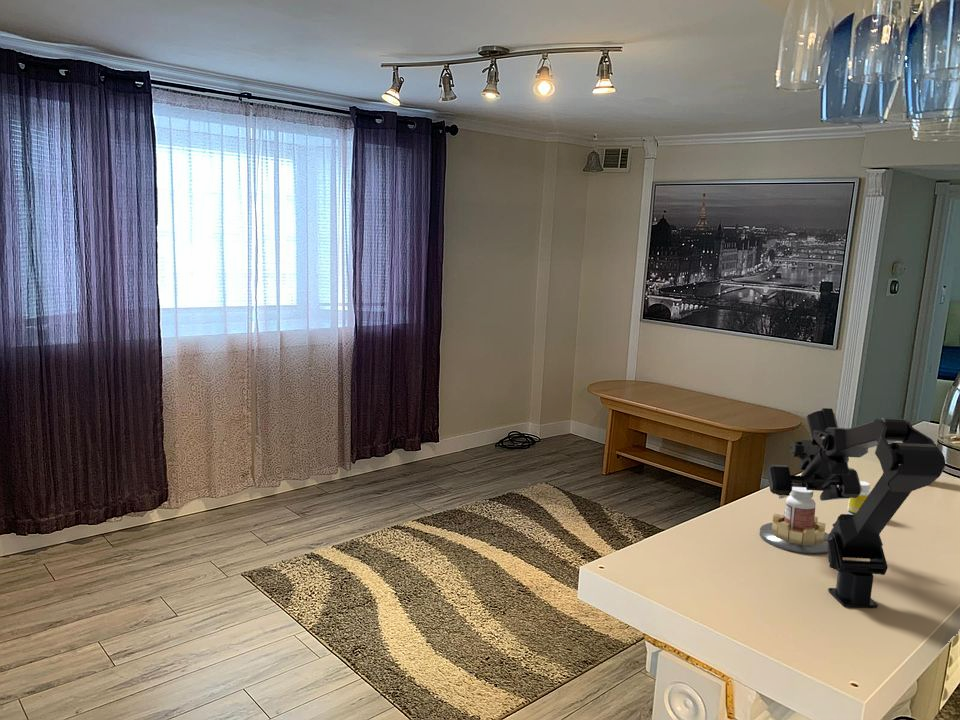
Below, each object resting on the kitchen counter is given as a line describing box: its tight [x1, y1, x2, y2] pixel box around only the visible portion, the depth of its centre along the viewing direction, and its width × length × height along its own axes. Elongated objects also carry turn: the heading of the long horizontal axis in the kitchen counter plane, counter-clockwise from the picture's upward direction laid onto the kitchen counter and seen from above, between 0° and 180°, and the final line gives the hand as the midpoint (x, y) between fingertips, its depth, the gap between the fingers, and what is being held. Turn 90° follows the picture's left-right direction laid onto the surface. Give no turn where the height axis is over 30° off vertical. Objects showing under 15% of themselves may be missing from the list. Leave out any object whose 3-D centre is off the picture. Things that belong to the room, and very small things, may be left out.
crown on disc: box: [759, 511, 829, 556], centre depth 165 cm, size 16×16×5 cm
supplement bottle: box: [846, 480, 871, 515], centre depth 182 cm, size 5×5×8 cm
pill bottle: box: [784, 487, 817, 531], centre depth 164 cm, size 6×6×11 cm
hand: (800, 497), depth 164 cm, fingers open, 9 cm apart
